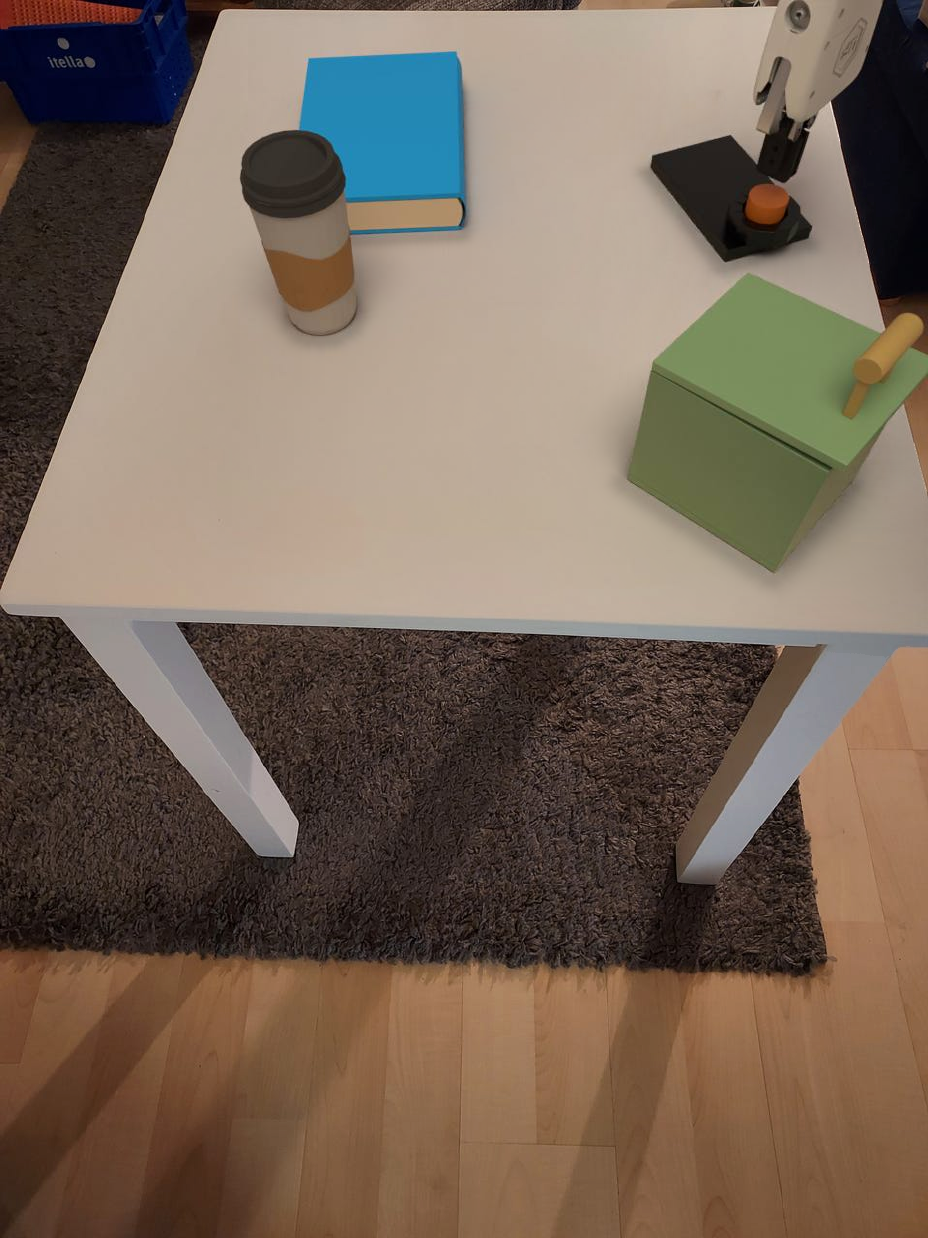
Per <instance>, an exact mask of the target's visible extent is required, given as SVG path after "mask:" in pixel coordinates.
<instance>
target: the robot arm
mask: <svg viewBox="0 0 928 1238" xmlns="http://www.w3.org/2000/svg"><path fill="white" fill-rule="evenodd" d="M883 3H884V0H778V3H777V6H776V8H775V12H774V14H773V18H772V21H771V24H770V27H769V31H768V34H767V37H766V41H765V44H764V47H763V50H762V54H761V57H760V61H759V65H758V69H757V73H756V78H755V83H754V87H753V92H752V99H753V101H754V105H756V106H761V105H762V104H764V105H763V107H762V110H761V113H760V116H759V117H758V121H757V124H756V127H755V130H756V131H758V132H760V133H763V134H765V135H764V138H763V142H762V145H761V149H760V152H759V156H758V159H757V162H756V164H757V166H756V170H757V171H758V172H759V173H762V174H764V175H766V176H768V177H769V178H770V179H773V180H775V181H777V182H778V183H779V182H780V183H781V184H786V183H787V182H789V180H791V178H793V177H794V176H795V175H796V174H797V172H798V170H799V168H800V164H801V161H802V158H803V155H804V153H805V148H806V145H807V142H808V140H809V137H810V133H811V131H808V130H810V129H812V127H813V126H814V124H815V122H816V120H817V117H818V115H819V112H820V111H821V110H822V109H823V108H824V107H826V106H827V105H828V104H829V103H830V102H831V101H832V100H834V99H835V98H837V96H838V95H839V94H840V93H842V92H843V91H844V90H845V89H846V88H847V87H849V85H850V84H851V83H853V82H854V80H855V79H856V78H857V77H858V75H859V73H860V72H861V70H862V67H863V65H864V62H865V59H866V56H867V53H868V50H869V47H870V44H871V41H872V38H873V36H874V31H875V29H876V25H877V22H878V19H879V15H880V13H881V10H882V6H883Z"/></svg>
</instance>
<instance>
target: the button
mask: <svg viewBox="0 0 928 1238" xmlns="http://www.w3.org/2000/svg"><path fill="white" fill-rule="evenodd" d="M789 195H790V194H789V193H788V191H787V190H786V189H785V188H784V187H782V186H780V185H777V184H775V185H773V184H761V185H757V186H755V187H754V188H752V190H751V191H750V193H749V197H748V200H747V204H746V207H745V214H746V216H747V218H748V219H750V220H752V221H755V222H757V223H759V224H774V223H777V222H779V221H780V220H782V218H783V217H784V214H785V210H786V207H787V204H788V201H789Z"/></svg>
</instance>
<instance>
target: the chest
mask: <svg viewBox="0 0 928 1238" xmlns="http://www.w3.org/2000/svg"><path fill="white" fill-rule="evenodd" d="M887 423H888V422H887ZM887 423H886V424H885V425H884V427H883V428H882V429H881V430H880V431H879V432H878V434H877V435H876V436H875V437H874V438H873V439H872V441H871V442H870V443H869V444H868V445H867V446H866V448H865V449H864V450H863V451H862V452H861V453H860V455H859V456H858V457H857V458H856V459H855V460H854V462H853V463H852V464H851V465H850V466H849V467H848V469H847V470H846V471H845V472H844V473H842V472H840V471H838V470H836V469H834V468H833V467H831V466H829V465H827V464H825V463H823V462H821V461H820V460H818V459H816V458H814V457H812V456H810V455H808V454H807V453H805V452H803V451H801V450H799V449H797V448H795V447H794V446H792V445H790V444H788V443H786V442H784V441H782V440H781V439H779V438H777V437H775V436H773V435H771V434H770V433H768V432H766V431H764V430H762V429H760V428H758V427H757V426H755V425H753V424H751V423H749V422H747V421H745V420H744V419H742V418H740V417H738V416H736V415H734V414H732V413H731V412H729V411H727V410H725V409H723V408H721V407H719V406H718V405H716V404H714V403H712V402H710V401H708V400H706V399H705V398H703V397H701V396H699V395H697V394H695V393H693V392H692V391H690V390H688V389H686V388H684V387H682V386H681V385H679V384H677V383H675V382H673V381H671V380H669V379H668V378H666V377H664V376H662V375H660V374H658V373H656V372H655V371H653V370H652V369H651V370H650V372H649V377H648V382H647V387H646V391H645V396H644V401H643V405H642V410H641V414H640V420H639V423H638V424H639V425H638V428H637V434H636V438H635V444H634V447H633V452H632V456H631V461H630V467H629V471H628V474H627V475H628V476H627V480H628V481H629V482H631V483H632V484H634V485H635V486H637V487H639V488H640V489H642V490H643V491H645V492H647V493H648V494H650V495H651V496H653V497H654V498H656V499H657V500H659V501H661V502H662V503H664V504H665V505H666V506H668V507H670V508H672V509H673V510H675V511H676V512H678V513H679V514H681V515H683V516H684V517H686V518H687V519H689V520H691V521H692V522H693V523H695V524H696V525H698V526H700V527H701V528H703V529H704V530H706V531H708V532H710V533H711V534H713V535H714V536H715V537H717V538H719V539H721V540H722V541H723V542H725V543H727V544H729V545H730V546H731V547H733V548H734V549H736V550H738V551H739V552H741V553H743V554H744V555H745V556H747V557H749V558H750V559H752V560H754V561H755V562H756V563H758V564H760V565H762V566H763V567H764V568H766V569H767V570H769V571H771V572H772V573H776V572H777V571H778V569H779V568H780V567H781V566H782V565H783V564H784V563H785V561H786V560H787V559H788V558H789V556H791V554H792V553H793V552H794V551H795V549H796V548H797V547H798V546H799V544H800V543H801V542H802V541H803V540H804V539H805V538H806V536H807V535H808V534H809V533H810V532H811V531H812V529H813V528H814V527H815V526H816V525H817V524H818V522H819V521H820V520H821V519H822V518H823V516H825V514H826V513H827V512H828V511H829V509H830V508H831V507H832V506H833V504H835V503H836V501H837V500H838V499H839V498H840V496H841V495H842V494H843V493H844V492H845V490H846V489H847V488H848V487H849V486H850V485H851V484H852V482H853V481H854V480H855V478H856V477H857V474H858V473H859V471H860V469H861V468H862V466H863V464H864V463H865V461H866V459H867V458H868V456H869V454H870V453H871V451H872V449H873V448H874V446H875V444H876V443H877V441H878V439H879V437H880V435H881V433H882V432H883V430H884V428H885V427H886V426H887Z"/></svg>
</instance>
